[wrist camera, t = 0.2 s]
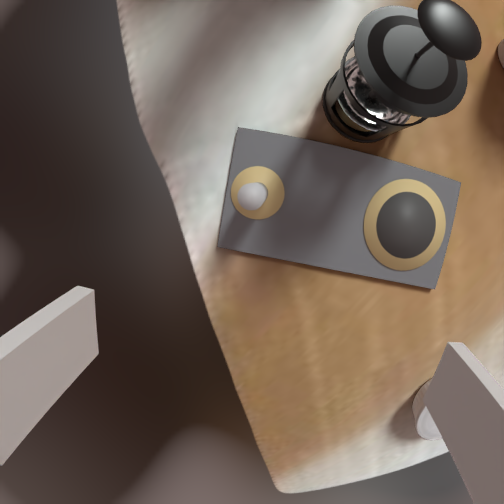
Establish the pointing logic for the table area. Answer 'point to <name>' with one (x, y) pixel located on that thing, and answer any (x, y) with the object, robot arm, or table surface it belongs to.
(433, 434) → the ramekin
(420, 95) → the french press
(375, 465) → the table surface
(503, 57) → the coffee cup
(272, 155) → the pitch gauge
